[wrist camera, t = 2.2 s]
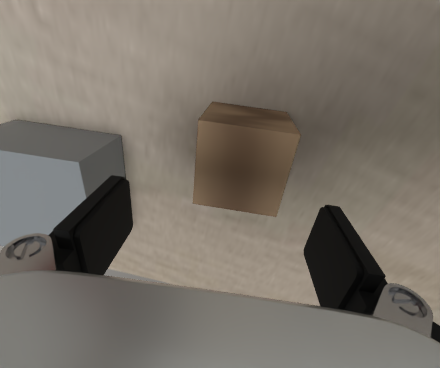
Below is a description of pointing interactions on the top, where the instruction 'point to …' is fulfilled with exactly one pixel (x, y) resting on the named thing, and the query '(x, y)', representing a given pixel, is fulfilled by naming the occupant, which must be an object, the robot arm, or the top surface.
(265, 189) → the walnut block
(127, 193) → the robot arm
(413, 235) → the top surface
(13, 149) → the slate stand
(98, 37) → the top surface
